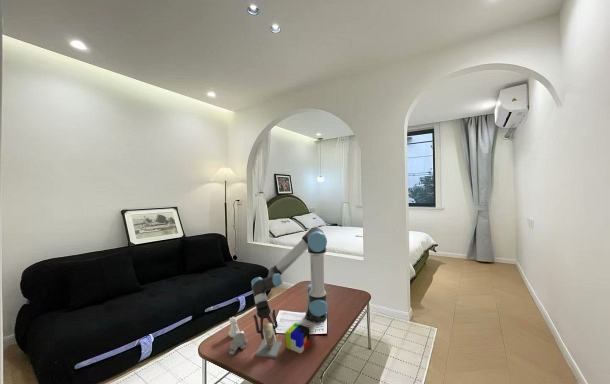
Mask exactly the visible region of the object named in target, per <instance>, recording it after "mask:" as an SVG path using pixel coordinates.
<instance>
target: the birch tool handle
mask: <svg viewBox="0 0 610 384" xmlns="http://www.w3.org/2000/svg"><path fill="white" fill-rule="evenodd" d="M263 332H264V333H265V337H266V342H267V345H266V346H265V347H266V348H271V347H272V346H273V341H274V339H273V326H272V323H269V322H266V323H265V324H264V323H263Z"/></svg>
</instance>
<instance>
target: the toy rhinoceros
mask: <svg viewBox="0 0 610 384" xmlns="http://www.w3.org/2000/svg"><path fill="white" fill-rule="evenodd" d="M248 343H249V341H248V339H246V336H245V333H244V334H243V333H238V334H236V335H235V336H234V338H232V344H229V346H230V347H229V349H230V351H229V354H230V355H232V356H234V355H235V354H236V352H237V350H238V349H239V348H240V350H244V349H245V347H246V345H248Z"/></svg>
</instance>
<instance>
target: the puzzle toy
mask: <svg viewBox="0 0 610 384" xmlns="http://www.w3.org/2000/svg"><path fill="white" fill-rule="evenodd" d="M310 331H311V330H310V327H309V326H307V325H303V324H301V323H297V322H295V323H294V324H292V325H291V326H290V327H289V328H288V329H287V330H286V331H285V341H286V344H285V345H286V349H289V350H291V351H294V352H296V353H298V354H302V353H303V352H304V351H305V349H306V348H307V347H308V346H309V345H310V342H311V339H310V338H311V336H310V335H311V334H310Z"/></svg>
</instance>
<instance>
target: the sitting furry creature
mask: <svg viewBox="0 0 610 384" xmlns="http://www.w3.org/2000/svg"><path fill="white" fill-rule="evenodd" d="M228 320H229V323H230V324H231V325H230V328H229V331H228V336H229V337H230V338H232V339H233V338H234V336H235V335H236V334H238V333H243V334H244V335H245V331H243V330H241V331H240V328H239V325H238V321H237V318H236V317H235V316H232V317H229V319H228Z"/></svg>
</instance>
